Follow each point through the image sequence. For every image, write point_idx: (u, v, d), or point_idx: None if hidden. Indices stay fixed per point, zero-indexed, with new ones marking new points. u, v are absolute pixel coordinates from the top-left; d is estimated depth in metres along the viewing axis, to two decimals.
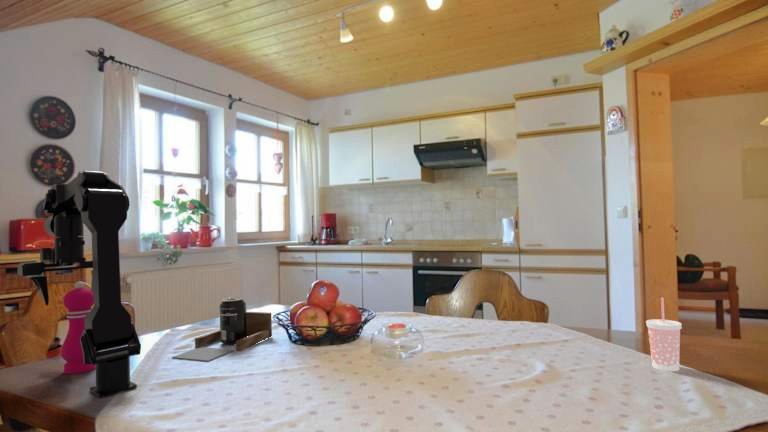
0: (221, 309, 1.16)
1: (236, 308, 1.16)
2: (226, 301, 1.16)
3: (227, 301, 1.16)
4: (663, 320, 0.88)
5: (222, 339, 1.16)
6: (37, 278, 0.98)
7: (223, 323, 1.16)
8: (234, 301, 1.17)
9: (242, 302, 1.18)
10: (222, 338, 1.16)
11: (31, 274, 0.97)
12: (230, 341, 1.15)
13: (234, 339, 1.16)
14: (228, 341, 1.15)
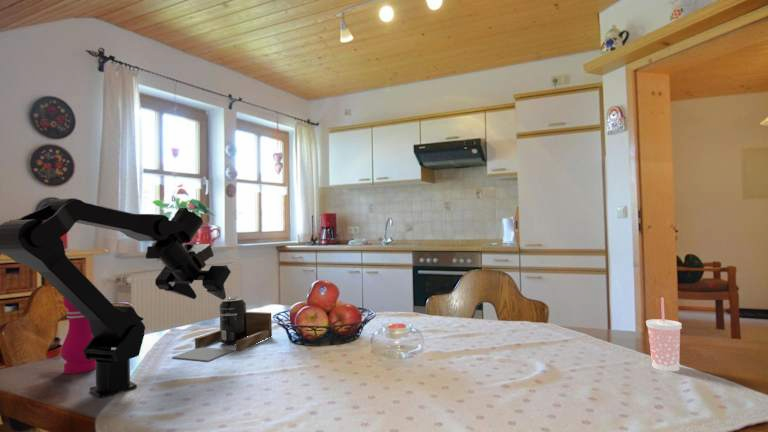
0: (221, 309, 1.16)
1: (236, 308, 1.16)
2: (226, 301, 1.16)
3: (227, 301, 1.16)
4: (663, 320, 0.88)
5: (222, 339, 1.16)
6: (168, 290, 1.08)
7: (223, 323, 1.16)
8: (234, 301, 1.17)
9: (242, 302, 1.18)
10: (222, 338, 1.16)
11: (162, 288, 1.08)
12: (230, 341, 1.15)
13: (234, 339, 1.16)
14: (228, 341, 1.15)
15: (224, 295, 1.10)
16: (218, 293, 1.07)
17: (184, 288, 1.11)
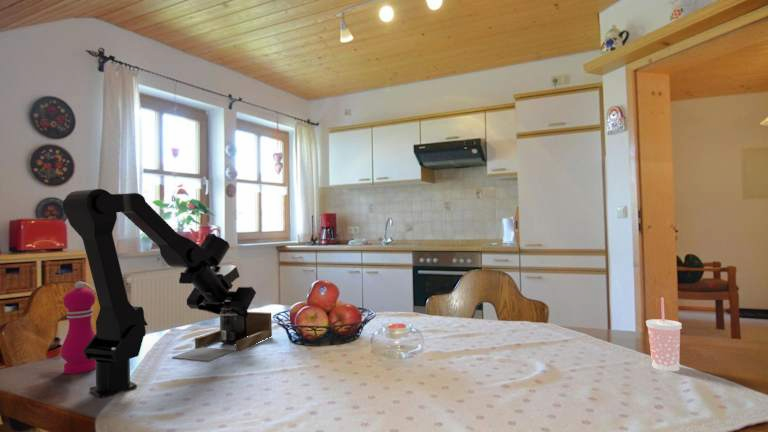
0: (221, 309, 1.16)
1: None
2: (226, 301, 1.16)
3: (227, 301, 1.16)
4: (663, 320, 0.88)
5: (222, 339, 1.16)
6: None
7: (223, 323, 1.16)
8: None
9: None
10: (222, 338, 1.16)
11: (192, 308, 1.16)
12: (230, 341, 1.15)
13: (234, 339, 1.16)
14: (228, 341, 1.15)
15: (246, 313, 1.18)
16: (241, 312, 1.15)
17: (216, 307, 1.18)
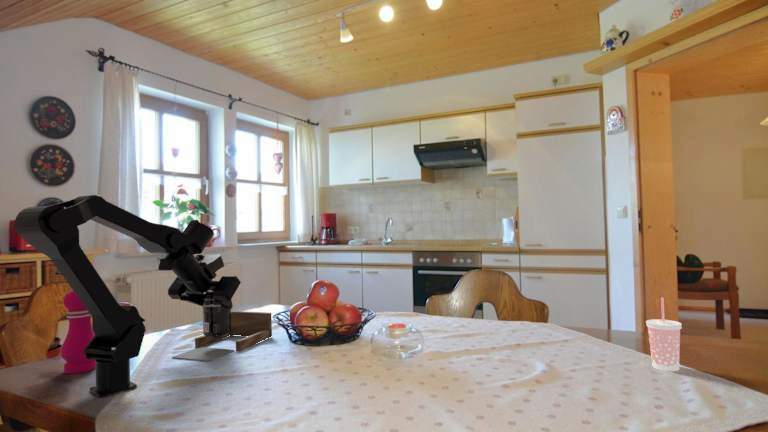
0: (204, 300, 1.11)
1: None
2: (209, 291, 1.11)
3: (211, 291, 1.11)
4: (663, 320, 0.88)
5: (205, 331, 1.10)
6: (183, 300, 1.10)
7: (206, 315, 1.10)
8: None
9: None
10: (205, 330, 1.10)
11: (174, 298, 1.10)
12: (213, 333, 1.10)
13: (218, 331, 1.10)
14: (211, 334, 1.10)
15: (231, 305, 1.13)
16: (225, 303, 1.09)
17: (199, 298, 1.13)
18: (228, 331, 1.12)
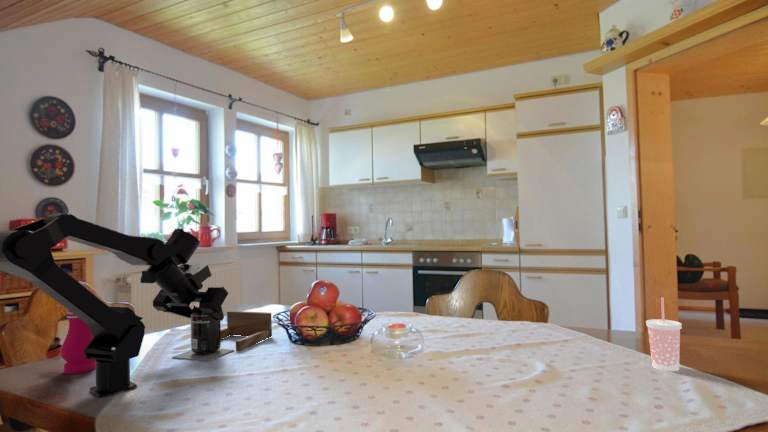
0: (192, 316, 1.06)
1: None
2: (198, 307, 1.06)
3: None
4: (663, 320, 0.88)
5: (193, 348, 1.06)
6: None
7: (194, 331, 1.06)
8: None
9: None
10: (193, 347, 1.06)
11: (159, 310, 1.06)
12: (202, 350, 1.06)
13: (206, 348, 1.06)
14: (199, 351, 1.06)
15: (222, 316, 1.08)
16: (215, 315, 1.05)
17: (183, 309, 1.09)
18: (217, 347, 1.08)
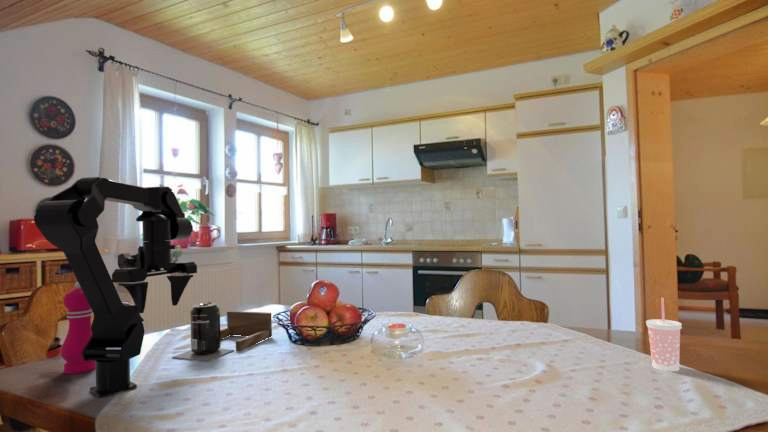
0: (192, 316, 1.07)
1: (208, 315, 1.07)
2: (197, 307, 1.07)
3: (198, 307, 1.07)
4: (663, 320, 0.88)
5: (193, 348, 1.06)
6: (141, 284, 0.93)
7: (194, 331, 1.06)
8: (206, 307, 1.07)
9: (215, 308, 1.09)
10: (193, 347, 1.06)
11: (137, 280, 0.92)
12: (202, 350, 1.06)
13: (206, 348, 1.06)
14: (199, 351, 1.06)
15: None
16: None
17: None
18: (217, 347, 1.08)
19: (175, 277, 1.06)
